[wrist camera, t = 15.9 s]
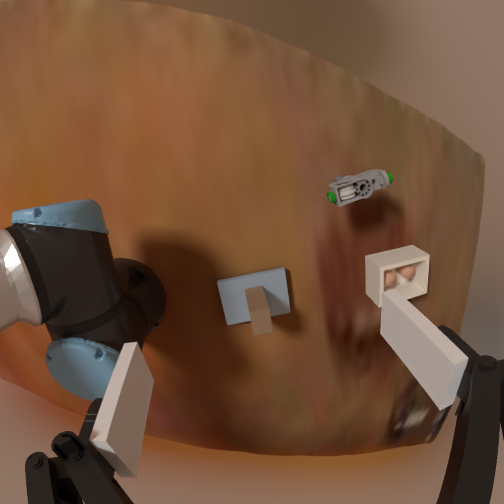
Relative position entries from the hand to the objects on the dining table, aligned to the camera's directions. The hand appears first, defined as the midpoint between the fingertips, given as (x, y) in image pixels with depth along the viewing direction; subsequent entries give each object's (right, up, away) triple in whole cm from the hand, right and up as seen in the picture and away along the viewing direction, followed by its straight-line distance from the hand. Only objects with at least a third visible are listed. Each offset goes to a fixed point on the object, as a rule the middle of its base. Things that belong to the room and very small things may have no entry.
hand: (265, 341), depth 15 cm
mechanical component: (+14, +17, +35) cm, 41 cm away
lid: (0, -3, +39) cm, 39 cm away
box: (+26, +1, +42) cm, 49 cm away
